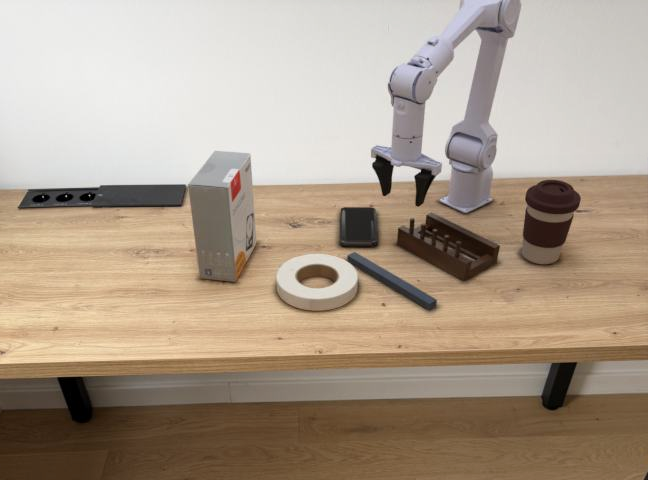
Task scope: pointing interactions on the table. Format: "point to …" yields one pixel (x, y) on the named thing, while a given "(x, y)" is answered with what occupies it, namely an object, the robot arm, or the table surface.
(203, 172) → the hard drive box
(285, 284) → the tape roll
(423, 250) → the rack
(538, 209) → the coffee cup
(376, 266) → the rail
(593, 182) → the table surface
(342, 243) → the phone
